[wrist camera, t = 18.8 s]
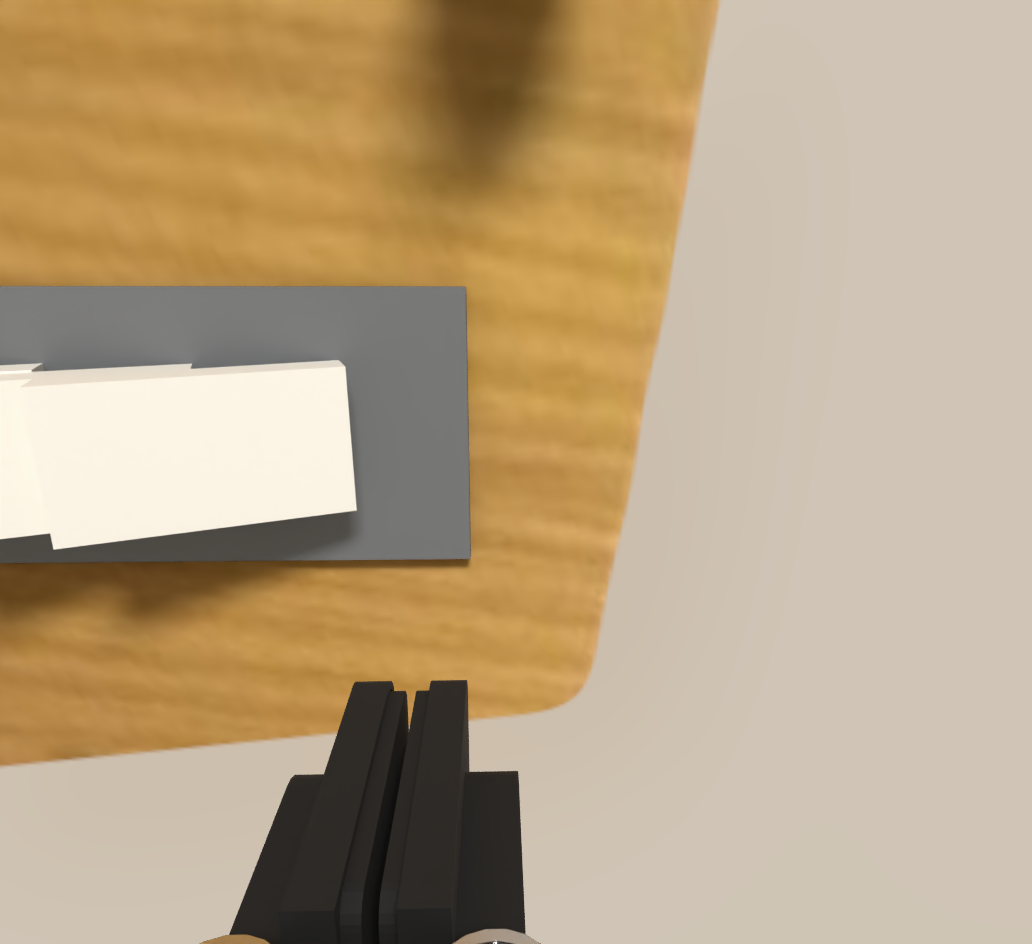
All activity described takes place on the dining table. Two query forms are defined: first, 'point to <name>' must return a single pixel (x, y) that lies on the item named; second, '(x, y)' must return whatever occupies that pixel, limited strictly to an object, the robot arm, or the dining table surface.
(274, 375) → the domino
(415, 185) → the dining table surface
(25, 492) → the domino
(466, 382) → the mat
